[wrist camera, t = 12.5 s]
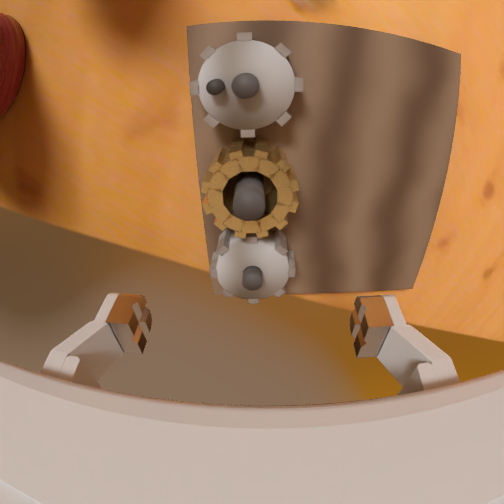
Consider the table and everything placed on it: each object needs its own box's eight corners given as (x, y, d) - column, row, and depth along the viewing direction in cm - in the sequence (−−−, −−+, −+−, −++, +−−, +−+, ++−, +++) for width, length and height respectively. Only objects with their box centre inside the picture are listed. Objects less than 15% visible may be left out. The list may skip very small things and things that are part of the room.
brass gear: (294, 136, 21) (301, 149, 18) (292, 214, 24) (296, 237, 22) (205, 139, 21) (196, 152, 18) (212, 215, 25) (206, 239, 22)
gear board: (448, 53, 17) (499, 59, 11) (406, 276, 31) (429, 322, 25) (192, 29, 17) (166, 16, 12) (216, 281, 31) (207, 333, 26)
